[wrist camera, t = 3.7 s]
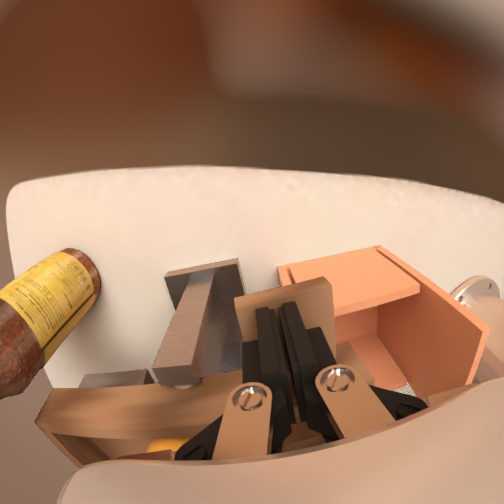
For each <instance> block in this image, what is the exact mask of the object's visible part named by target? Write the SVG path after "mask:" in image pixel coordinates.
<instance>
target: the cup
mask: <svg viewBox="0 0 504 504" xmlns="http://www.w3.org/2000/svg"><path fill="white" fill-rule="evenodd" d="M277 268H278V273H279V279H280V284H281V287H282V286H286V285H290V284H294V283H298V282H302V281H306V280H310V279H314V278H318V277H322V276H324V277H325V278H326V279H327V280H328V281H329V282H330V283H331V284H332V291H333V304H334V317H335V334H336V345H337V344H340V343H343V342H346V341H348V342H349V344H350V345H351V347H352V348H353V349H354V351H355V352H356V354H357V355H358V356H359V358H360V359H361V361H362V362H363V363H364V365H365V366H366V368H367V369H368V371H369V372H370V373H371V375H372V376H373V378H374V379H375V383H374V386H375V387H379V388H383V389H387V390H390V391H393V390H395V389H398V388H401V387H403V386H406V383H407V382H408V383H409V385H410V386H411V388H412V389H413V391H414V392H415V394H416V396H417V397H418V398H420V399H422V400H423V399H426V398H427V396H428V395H432V394H436V393H440V392H444V391H448V390H451V389H455V388H458V387H462V386H465V385H468V384H471V383H472V380H473V378H474V375H475V373H476V370H477V367H478V364H479V362H480V359H481V356H482V353H483V350H484V347H485V343H486V340H487V337H488V333H489V330H490V327H489V326H488V325H486V324H485V323H484V322H483V321H482V320H480V319H479V318H478V317H477V316H476V315H474V314H473V313H472V312H471V311H469V310H468V309H467V308H466V307H464V306H463V305H462V304H461V303H459V302H458V301H457V300H456V299H454V298H453V297H452V296H450V295H449V294H448V293H446V292H445V291H444V290H442V289H441V288H440V287H438V286H437V285H436V284H434V283H433V282H432V281H430V280H429V279H428V278H426V277H425V276H424V275H422V274H421V273H419V272H418V271H417V270H415V269H414V268H412V267H411V266H410V265H408V264H407V263H405V262H404V261H402V260H401V259H399V258H398V257H397V256H395V255H394V254H392V253H391V252H389V251H388V250H386V249H385V248H383V247H382V246H380V245H378V246H373V247H369V248H364V249H360V250H355V251H351V252H346V253H341V254H337V255H332V256H327V257H323V258H318V259H313V260H308V261H303V262H299V263H294V264H289V265H284V266H279V267H277Z"/></svg>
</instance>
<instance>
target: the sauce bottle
mask: <svg viewBox="0 0 504 504" xmlns="http://www.w3.org/2000/svg"><path fill="white" fill-rule="evenodd" d="M99 288H100V278H99V274H98V272H97V270H96V268H95V265H94V264H93V262H92V261H91V260H90V258H88V257H87V256H86V255H85V254H84V253H82V252H81V251H79V250H76V249H73V248H66V249H64V250H61V251H59V252H56V253H53V254H51V255H50V256H48V257H46V258H45V259H43V260H42V261H40V262H39V263H37V264H36V265H34V266H33V267H31V268H30V269H29V270H27V271H26V272H24V273H23V274H22V275H20V276H19V277H17V278H16V279H15V280H13V281H12V282H11V283H9V284H8V285H6V286H5V287H3V288H2V289H1V290H0V400H1V399H3V398H5V397H8V396H14V395H17V394H20V393H23V391H24V390H25V389H26V387H27V386H28V385H29V384H30V382H31V380H32V379H33V378H34V376H35V375H36V374H37V372H38V371H39V370H40V369H42V368H43V367H44V366H45V364H46V363H47V362H48V360H49V359H50V358H51V356H52V355H53V354H54V352H55V351H56V350H57V348H58V347H59V346H60V345H61V343H62V342H63V341H64V340H65V338H66V337H67V336H68V335H69V333H70V332H71V331H72V330H73V328H74V327H75V326H76V325H77V323H78V322H79V321H80V320H81V319H82V318H83V316H84V315H85V314H86V313H87V312H88V310H89V309H90V308H91V307H92V305H93V304H94V302H95V300H96V298H97V297H98V293H99Z"/></svg>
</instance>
